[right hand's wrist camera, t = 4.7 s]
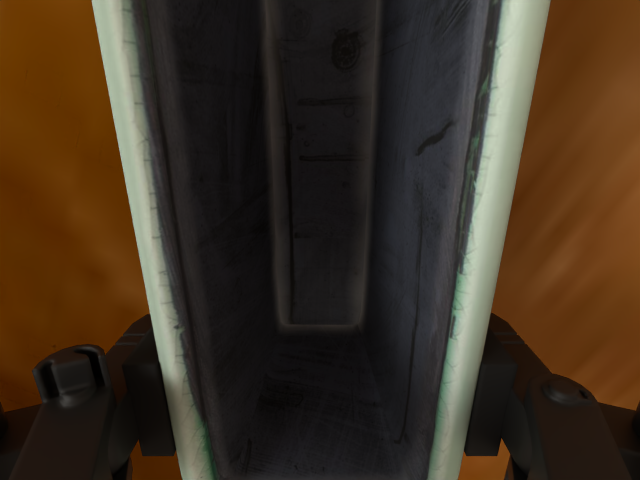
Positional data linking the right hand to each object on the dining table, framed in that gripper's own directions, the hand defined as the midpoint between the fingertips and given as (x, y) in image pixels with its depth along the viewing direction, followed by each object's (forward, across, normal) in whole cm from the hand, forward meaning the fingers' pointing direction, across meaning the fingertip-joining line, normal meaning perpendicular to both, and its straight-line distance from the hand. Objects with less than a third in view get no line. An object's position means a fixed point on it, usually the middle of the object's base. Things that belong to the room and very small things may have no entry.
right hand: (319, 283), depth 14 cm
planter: (+1, 0, -10) cm, 10 cm away
